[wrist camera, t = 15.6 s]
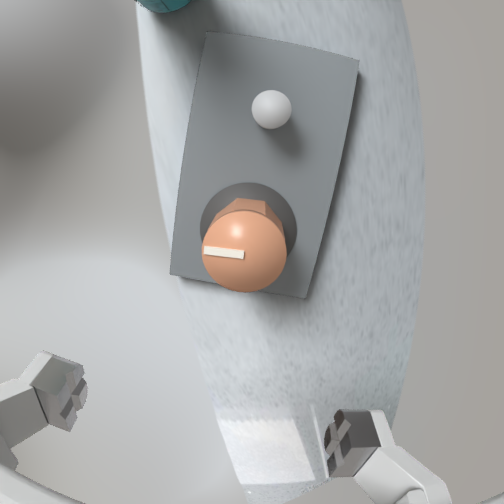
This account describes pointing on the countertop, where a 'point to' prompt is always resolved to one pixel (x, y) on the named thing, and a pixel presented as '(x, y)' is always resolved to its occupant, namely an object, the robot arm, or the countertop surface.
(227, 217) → the knob
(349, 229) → the countertop surface
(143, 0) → the beverage bottle
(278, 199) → the mount
